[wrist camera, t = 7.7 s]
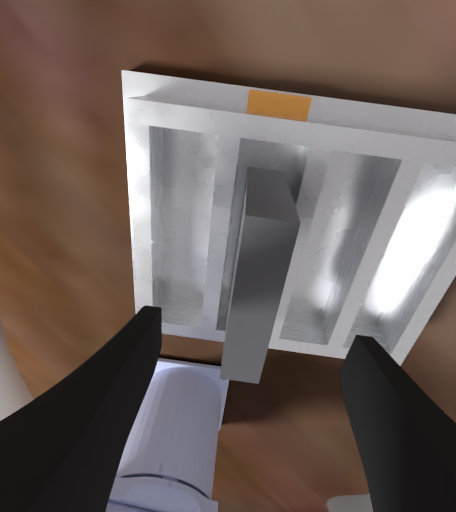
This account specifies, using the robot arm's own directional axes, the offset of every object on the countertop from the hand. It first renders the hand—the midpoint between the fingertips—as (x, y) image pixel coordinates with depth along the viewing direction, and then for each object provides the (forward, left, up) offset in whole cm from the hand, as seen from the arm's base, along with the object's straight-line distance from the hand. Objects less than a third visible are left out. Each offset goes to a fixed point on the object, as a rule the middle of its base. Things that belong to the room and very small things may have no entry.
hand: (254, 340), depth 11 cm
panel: (0, 0, -9) cm, 9 cm away
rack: (0, -2, -10) cm, 10 cm away
